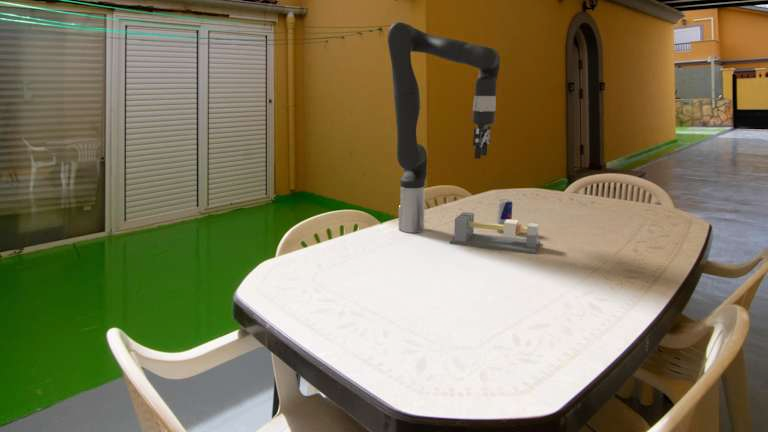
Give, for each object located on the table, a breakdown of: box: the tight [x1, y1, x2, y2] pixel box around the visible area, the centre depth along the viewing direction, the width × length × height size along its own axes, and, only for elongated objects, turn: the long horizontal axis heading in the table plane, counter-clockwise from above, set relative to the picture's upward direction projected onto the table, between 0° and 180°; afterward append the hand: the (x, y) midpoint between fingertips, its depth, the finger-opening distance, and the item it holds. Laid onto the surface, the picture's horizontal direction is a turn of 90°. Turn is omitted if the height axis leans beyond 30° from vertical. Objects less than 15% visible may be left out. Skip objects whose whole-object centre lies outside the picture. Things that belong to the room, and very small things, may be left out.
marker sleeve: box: [502, 219, 519, 238], centre depth 156 cm, size 4×5×5 cm
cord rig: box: [453, 211, 540, 248], centre depth 159 cm, size 27×11×8 cm, turn 65°
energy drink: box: [496, 198, 513, 234], centre depth 173 cm, size 5×5×12 cm
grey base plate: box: [449, 232, 541, 255], centre depth 160 cm, size 29×12×1 cm, turn 65°
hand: (480, 157), depth 161 cm, fingers open, 8 cm apart
